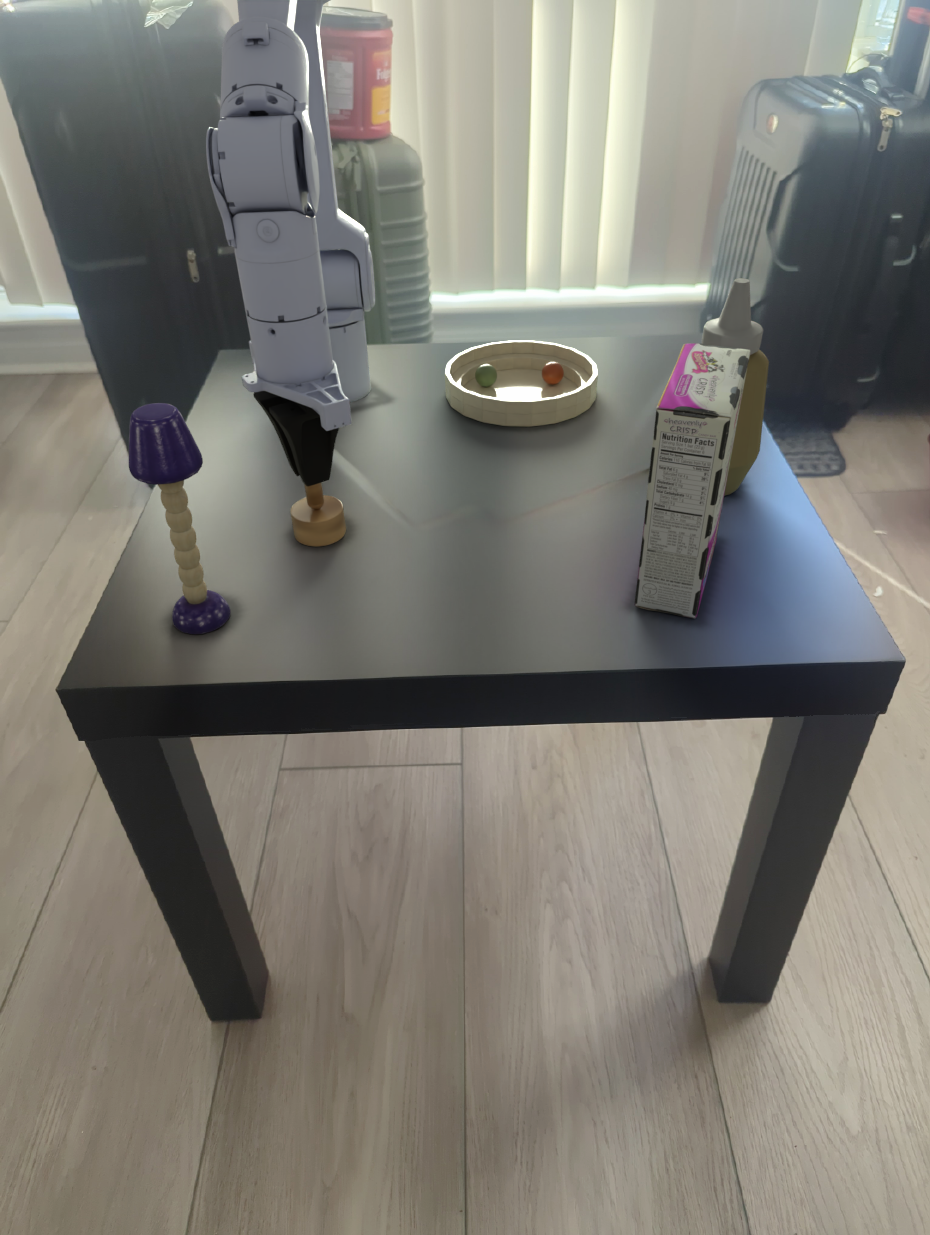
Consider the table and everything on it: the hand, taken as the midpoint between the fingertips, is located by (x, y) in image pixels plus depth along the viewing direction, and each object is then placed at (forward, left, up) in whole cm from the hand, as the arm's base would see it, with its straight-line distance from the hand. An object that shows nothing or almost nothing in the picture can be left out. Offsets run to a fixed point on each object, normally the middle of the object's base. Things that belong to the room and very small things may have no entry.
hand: (311, 476), depth 69 cm
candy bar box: (+21, +21, -6) cm, 30 cm away
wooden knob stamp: (0, 0, -5) cm, 5 cm away
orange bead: (-12, +33, -5) cm, 36 cm away
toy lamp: (+6, -12, -6) cm, 15 cm away
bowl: (-12, +29, -5) cm, 32 cm away
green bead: (-16, +27, -5) cm, 31 cm away
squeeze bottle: (+12, +33, -6) cm, 36 cm away
